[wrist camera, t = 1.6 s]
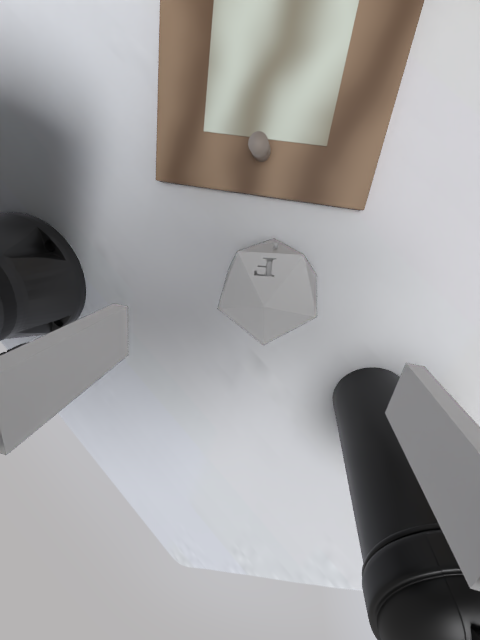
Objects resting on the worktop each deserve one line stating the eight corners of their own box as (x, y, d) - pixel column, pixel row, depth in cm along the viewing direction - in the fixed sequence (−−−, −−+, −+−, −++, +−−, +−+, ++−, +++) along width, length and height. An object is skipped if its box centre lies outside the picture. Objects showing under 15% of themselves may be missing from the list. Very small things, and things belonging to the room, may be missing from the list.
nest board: (161, 181, 28) (140, 175, 24) (170, -112, 20) (142, -189, 17) (360, 210, 26) (373, 208, 22) (450, -106, 18) (493, -193, 14)
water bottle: (322, 429, 35) (375, 758, 14) (328, 358, 31) (410, 651, 10) (409, 437, 33) (625, 828, 12) (425, 362, 30) (771, 727, 8)
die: (317, 238, 27) (332, 248, 18) (307, 321, 30) (314, 366, 21) (234, 234, 28) (208, 241, 19) (232, 315, 32) (208, 354, 22)
